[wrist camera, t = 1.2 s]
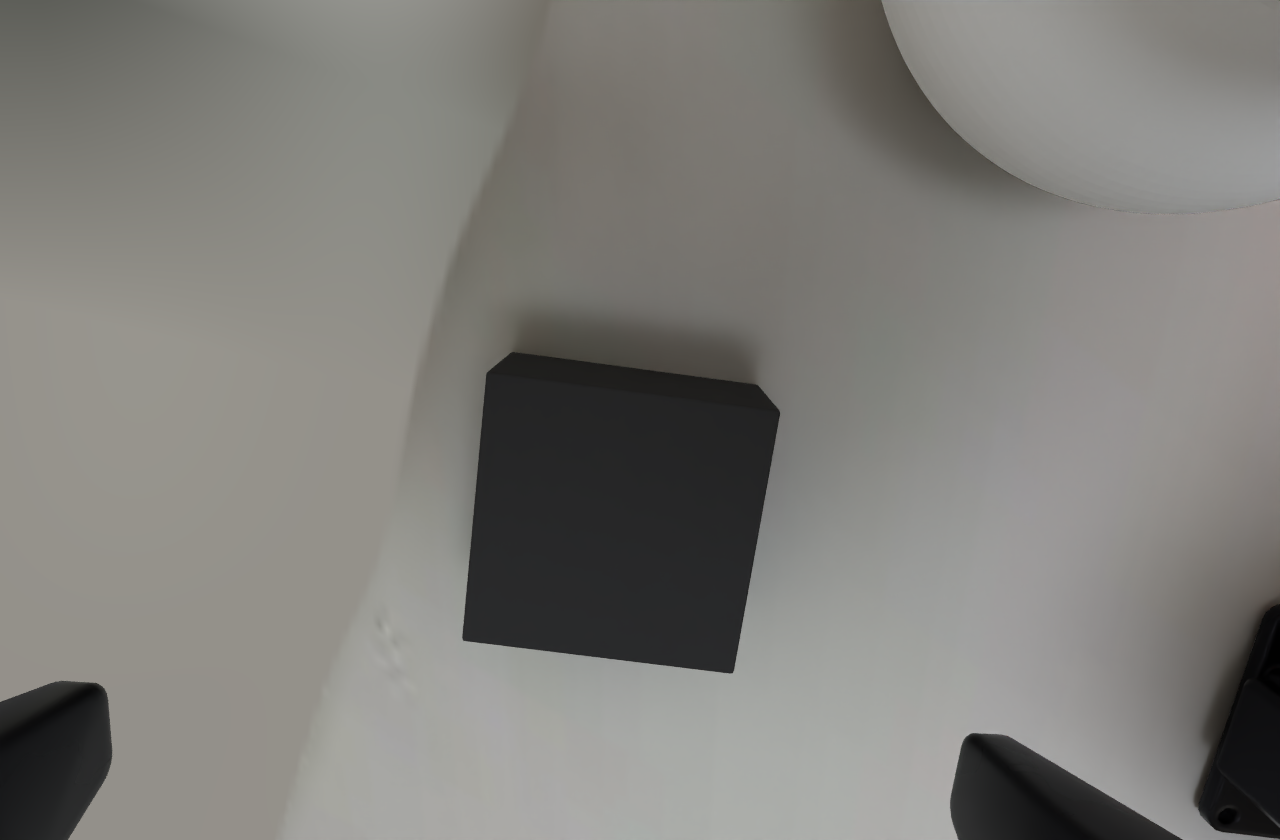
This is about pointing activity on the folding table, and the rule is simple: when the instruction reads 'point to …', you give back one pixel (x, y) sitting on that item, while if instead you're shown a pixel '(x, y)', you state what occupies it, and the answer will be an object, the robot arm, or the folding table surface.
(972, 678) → the folding table surface
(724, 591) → the black block
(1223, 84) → the vase
